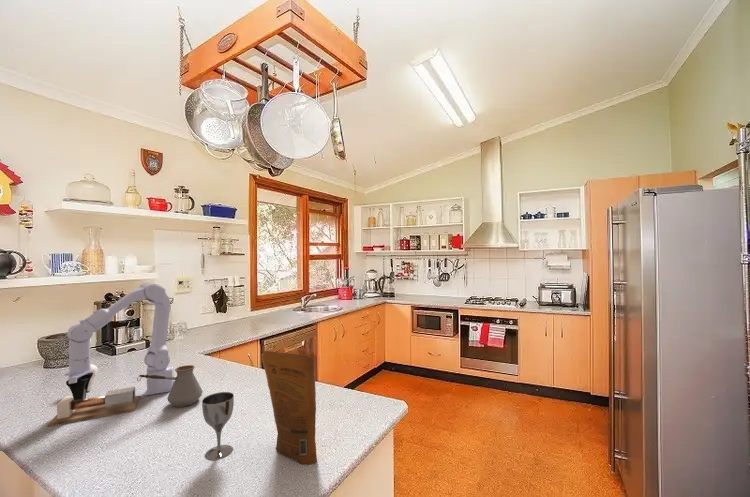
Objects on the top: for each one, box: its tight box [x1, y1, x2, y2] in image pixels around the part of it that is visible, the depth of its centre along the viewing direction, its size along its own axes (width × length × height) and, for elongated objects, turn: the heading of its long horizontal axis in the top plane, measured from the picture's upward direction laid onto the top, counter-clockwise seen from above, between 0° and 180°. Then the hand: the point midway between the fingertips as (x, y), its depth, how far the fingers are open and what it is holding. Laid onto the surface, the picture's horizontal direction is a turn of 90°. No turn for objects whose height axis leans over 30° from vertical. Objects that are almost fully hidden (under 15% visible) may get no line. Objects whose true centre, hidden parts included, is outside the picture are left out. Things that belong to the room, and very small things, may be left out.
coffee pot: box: [136, 364, 204, 408], centre depth 121 cm, size 21×12×15 cm, turn 148°
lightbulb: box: [87, 363, 99, 392], centre depth 137 cm, size 6×6×11 cm
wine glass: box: [201, 391, 235, 461], centre depth 92 cm, size 8×8×15 cm
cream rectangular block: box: [56, 394, 75, 419], centre depth 115 cm, size 3×7×5 cm, turn 26°
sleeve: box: [104, 386, 136, 409], centre depth 122 cm, size 8×5×5 cm, turn 116°
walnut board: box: [47, 394, 141, 427], centre depth 119 cm, size 23×12×1 cm, turn 116°
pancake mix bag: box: [261, 350, 318, 466], centre depth 90 cm, size 7×19×28 cm, turn 54°
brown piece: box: [71, 388, 105, 410], centre depth 118 cm, size 14×3×6 cm, turn 116°
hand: (80, 397), depth 117 cm, fingers open, 3 cm apart
